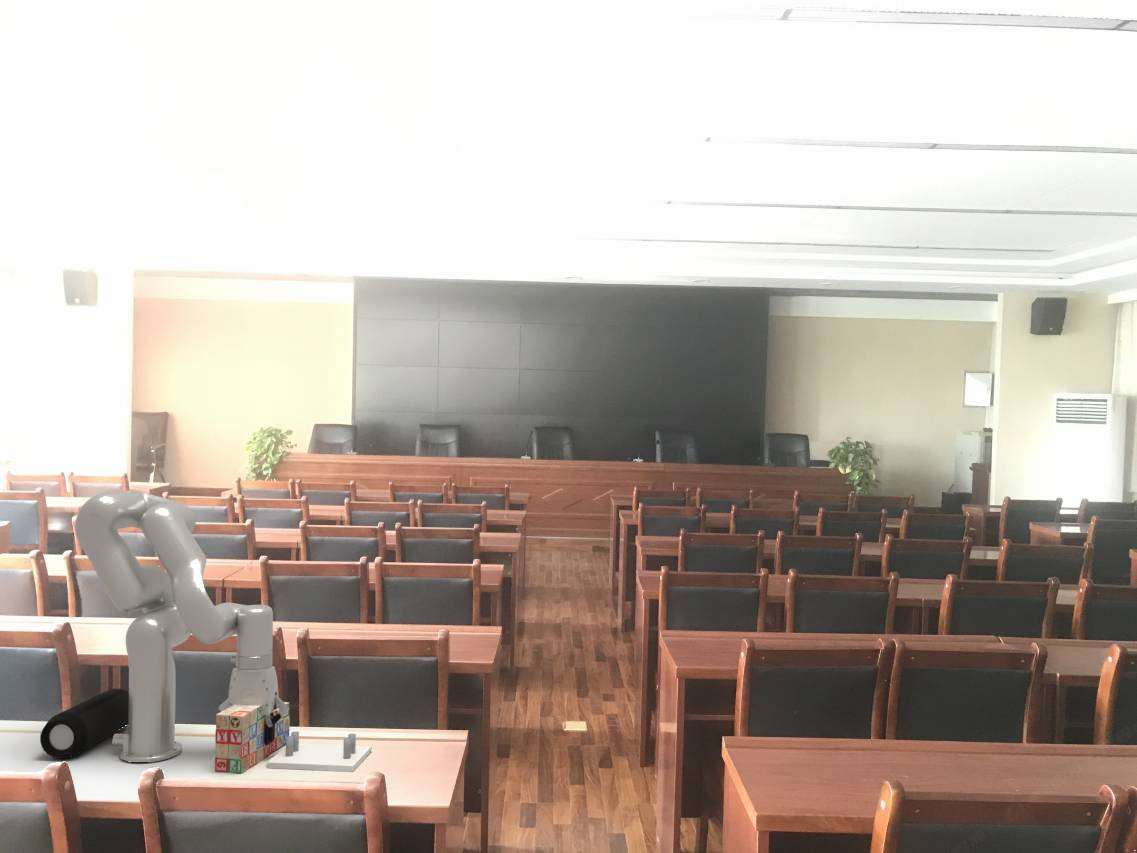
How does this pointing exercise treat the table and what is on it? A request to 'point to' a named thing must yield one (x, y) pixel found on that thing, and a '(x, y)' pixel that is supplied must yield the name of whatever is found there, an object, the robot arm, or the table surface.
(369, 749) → the peg board
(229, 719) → the stack of blocks
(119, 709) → the portable speaker
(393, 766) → the table surface
